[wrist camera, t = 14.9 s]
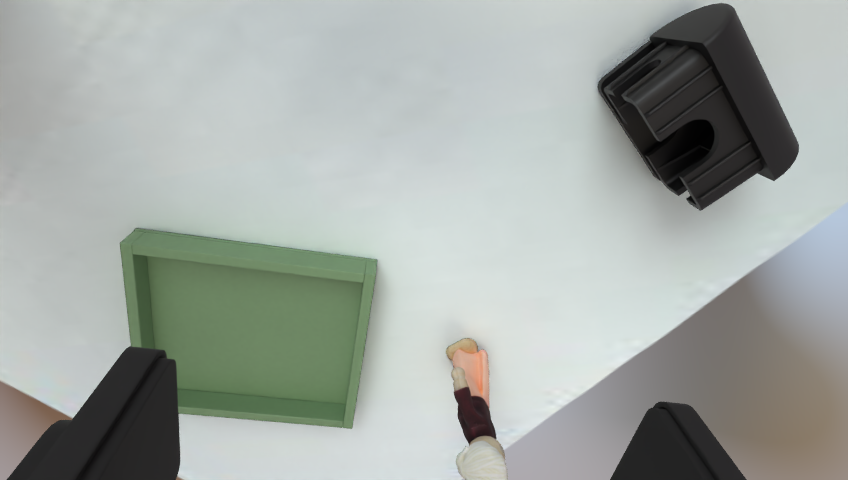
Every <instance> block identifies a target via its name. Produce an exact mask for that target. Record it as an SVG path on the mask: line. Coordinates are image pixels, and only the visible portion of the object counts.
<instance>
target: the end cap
mask: <svg viewBox="0 0 848 480" xmlns="http://www.w3.org/2000/svg"><path fill="white" fill-rule="evenodd" d="M598 90H599V92H600V93H601V95H602V96H603V98H604V100H605V101H606V103H607V104H608V106H609V107H610V109H611V110H612V112H613V113H614V115H615V117H616V118H617V120H618V121H619V123H620V124H621V126H622V127H623V129H624V131H625V132H626V134H627V135H628V137H629V138H630V140H631V141H632V143H633V144H634V146H635V148H636V149H637V151H638V152H639V154H640V155H641V157H642V158H643V160H644V161H645V163H646V165H647V166H648V168H649V169H650V171H651V172H652V174H653V175H654V176H655V177H656V178H657V179H659V180H661V181H662V182H663V184H664V185H665V186H666V187H667V188H668V189H669V190H671V191H672V192H674V193H675V194H676V195H678V196H679V195H681V194H682V193H684V192H685V191H686V190H688V192H689V193H690V195H691V196H689V197H688V198H687V201H688V202H689V203H690V204H691V205H693V206H694V207H696V208H697V209H698V210H700V211H701V210H703V209H704V208H706V207H707V206H709V205H710V204H712V203H713V202H715V201H716V200H718V199H719V198H721V197H722V196H724V195H725V194H727V193H728V192H730V191H731V190H733V189H734V188H736V187H737V186H739V185H740V184H742V183H743V182H745V181H746V180H748V179H749V178H751V177H752V176H754V175H755V174H757V173H758V174H760V175H762V176H764V177H766V178H769V179H771V180H773V181H775V180H776V179H777V178H779V177H780V176H781V175H783V174H784V173H785V172H786V171H787V170H788V169H789V168H790V167H791V165H792V164H793V163H794V161H795V160H796V157H797V155H798V152H799V144H798V142H797V139H796V137H795V135H794V133H793V131H792V129H791V127H790V125H789V122H788V120H787V118H786V116H785V114H784V112H783V110H782V108H781V106H780V104H779V101H778V99H777V97H776V95H775V93H774V91H773V89H772V87H771V85H770V83H769V80H768V78H767V76H766V74H765V72H764V70H763V68H762V66H761V64H760V62H759V59H758V57H757V55H756V53H755V51H754V49H753V47H752V45H751V43H750V41H749V38H748V36H747V34H746V32H745V30H744V28H743V26H742V24H741V22H740V20H739V18H738V15H737V13H736V11H735V9H734V8H733V7H732V6H730V5H729V4H723V3H719V4H712V5H708V6H704V7H702V8H699V9H696V10H694V11H691V12H689V13H687V14H685V15H683V16H681V17H679V18H677V19H675V20H674V21H672V22H670V23H669V24H667V25H665V26H664V27H662V28H661V29H659V30H658V31H657V32H655V33H654V34H653V35H651V36H650V41H649V42H647V43H646V44H644V45H643V46H642V47H641V48H639V49H638V50H637V51H636V52H634V53H633V54H632V55H630V56H629V57H628V58H627V59H625V60H624V61H623V62H622V63H620V64H619V65H618V66H617V67H615V68H614V69H613V70H612V71H610V72H609V73H608V74H606V75H605V76H604V77H603V78H602V79H601V80H600V81H599V84H598Z"/></svg>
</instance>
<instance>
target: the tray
mask: <svg viewBox="0 0 848 480" xmlns="http://www.w3.org/2000/svg"><path fill="white" fill-rule="evenodd" d="M120 249H121V258H122V267H123V276H124V285H125V295H126V304H127V313H128V322H129V331H130V340H131V347H141V348H151V349H160V350H165V352H166V354H167V359H174V360H175V361H176V368H177V393H178V413H180V414H191V415H203V416H214V417H226V418H237V419H249V420H260V421H272V422H283V423H294V424H306V425H317V426H329V427H340V428H342V427H343V428H349V429H352V425H353V419H354V413H355V406H356V400H357V393H358V387H359V380H360V374H361V367H362V361H363V355H364V348H365V342H366V335H367V329H368V322H369V316H370V309H371V303H372V297H373V290H374V284H375V277H376V266H377V260H375V259H367V258H360V257H352V256H344V255H337V254H329V253H321V252H314V251H306V250H299V249H291V248H283V247H276V246H268V245H260V244H253V243H245V242H238V241H230V240H222V239H215V238H207V237H199V236H192V235H184V234H177V233H169V232H161V231H154V230H146V229H138V228H136V229H135V230H134V231H133V232H132V233H131V234H130V235H128V236H127V237H126V238H125V239H124V240H123V241H122V242H120Z"/></svg>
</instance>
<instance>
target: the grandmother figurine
mask: <svg viewBox="0 0 848 480" xmlns="http://www.w3.org/2000/svg"><path fill="white" fill-rule="evenodd" d="M477 350H478V346H477V344H476V342H475V341H474V340H472V339H469V338H467V339H466V338H465V339H462V340H460V341H458V342H456V343H455V344H453V345H451V346H449V347H448V348H447V350H446V354H447V356H448V358H449V359H450V360H452V361H453V367H454V369H453V370H452V373H451V375H452V378H453V380H454V383H453V385H454V395H455V399H456V401H457V403H458V419H459V422H460V424H461V427H462V429H463V433H464V435H465V438H466V439H467V441H468V443H469V446H468V447H466V446H465V448H464V450H463V451H462V452H460V453H459V454H458V456H457V459H456V465H457V468H458V472H459V474H460V475H461V476H462V477H463V478H464V479H465V480H508V473H507V468H506V463H505V454H504V450H503V448H502V446H501V444H500V443H499V442H498V441H497V440H496V433H495V429H494V426H493V423H492V421H491V417H490V411H489V365H488V355H487V353H486V351H485V350H483V349H481V350H479V352H477Z"/></svg>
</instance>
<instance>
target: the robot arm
mask: <svg viewBox="0 0 848 480" xmlns="http://www.w3.org/2000/svg"><path fill="white" fill-rule="evenodd" d="M179 466H180V442H179V417H178V393H177V368H176V361H175V360H174V359H167V354H166V352H165V350H160V349H151V348H141V347H131V346H130V347H128V348H127V349H126V350H125V351H124V352H123V353H122V354H121V356H120V357H119V358H118V360H117V361H116V362H115V364H114V365H113V366H112V368H111V369H110V370H109V372H108V373H107V374H106V376H105V377H104V378H103V380H102V381H101V382H100V384H99V385H98V386H97V388H96V389H95V390H94V392H93V393H92V394H91V396H90V397H89V398H88V400H87V401H86V402H85V404H84V405H83V406H82V407H81V409H80V410H79V411H78V413H77V414H76V415H75V417H74V418H73V419H72V420H60V421H57V422H56V423H54V424H53V425H51V426H50V427H49V428H48V429H47V431H45V433H44V434H43V435H42V436H41V438H40V439H39V440H38V441H37V442H36V444H35V445H34V446H33V447H32V449H31V450H30V451H29V452H28V454H27V455H26V456H25V458H24V459H23V460H22V461H21V463H20V464H19V465H18V466H17V468H16V469H15V470H14V471H13V473H12V474H11V475H10V476H9V478H8V479H7V480H176V477H177V474H178V471H179ZM610 480H746V479H745V477H744V476H743V474H742V473H741V472H740V470H739V469H738V468H737V466H736V465H735V464H734V462H733V461H732V459H731V458H730V457H729V455H728V454H727V453H726V451H725V450H724V449H723V447H722V446H721V445H720V443H719V442H718V441H717V439H716V438H715V437H714V435H713V434H712V433H711V431H710V430H709V429H708V427H707V426H706V425H705V423H704V422H703V420H702V419H701V418H700V416H699V415H698V414H697V412H696V411H695V410H694V409H693V408H692V407H691V406H689V405H687V404H680V403H670V402H658V403H656V404H655V406H654V407H653V408H651V409H649V410H648V411H647V412H646V414H645V416H644V418H643V420H642V421H641V423H640V425H639V427H638V429H637V431H636V433H635V434H634V436H633V438H632V440H631V442H630V444H629V446H628V448H627V449H626V451H625V453H624V455H623V457H622V459H621V461H620V462H619V464H618V466H617V468H616V470H615V472H614V473H613V475H612V477H611V479H610Z"/></svg>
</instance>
